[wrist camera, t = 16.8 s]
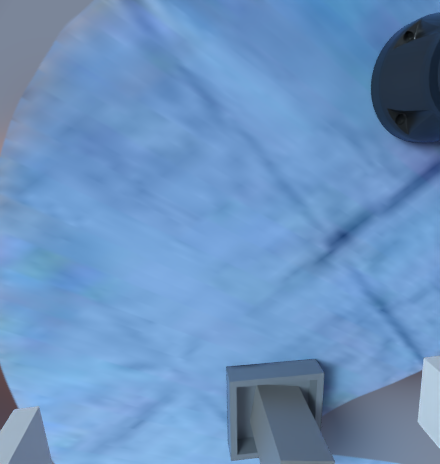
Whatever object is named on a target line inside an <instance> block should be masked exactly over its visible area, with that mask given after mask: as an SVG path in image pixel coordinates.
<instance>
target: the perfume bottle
mask: <svg viewBox="0 0 440 464" xmlns="http://www.w3.org/2000/svg"><path fill="white" fill-rule="evenodd" d="M250 424H251V428H252V432H253V436H254V440H255V444H256V448H257V452H258V456H259V460H260V464H334V463H335V460H334V458H333V456H332V454H331V452H330V450H329V448H328V446H327V444H326V442H325V440H324V438H323V436H322V434H321V431H320V429H319V427H318V425H317V423H316V421H315V419H314V417H313V415H312V413H311V411H310V409H309V407H308V405H307V403H306V400H305V398H304V396H303V394H302V392H301V390H300V388H299V386H289V385H268V384H266V385H256V390H255V395H254V401H253V406H252V411H251V417H250Z"/></svg>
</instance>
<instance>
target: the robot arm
mask: <svg viewBox="0 0 440 464" xmlns="http://www.w3.org/2000/svg"><path fill="white" fill-rule="evenodd" d="M371 96H372V102H373V106H374V109H375V112H376V114H377V117H378V118H379V120H380V122H381V123H382V125H383V126H384V127H385V128H386V129H387V130H388V131H389V132H390V133H392V134H393V135H394V136H396V137H398V138H400V139H403V140H406V141H410V142H436V141H440V13H434V14H430V15H427V16H424V17H422V18H420V19H418V20H416V21H414V22H412V23H410V24H408V25H406V26H405V27H403V28H402V29H400V30H399V31H398V32H397V33H395V34H394V35H393V36H392V37H391V38H390V40H389V41H388V42H387V43H386V45H385V46H384V48H383V49H382V51H381V53H380V54H379V56H378V59H377V61H376V64H375V67H374V70H373V75H372V81H371ZM418 423H419V424H420V426H421V427H422V428H423V429H424V430H425V432H426V433H427V434H428V435H429V436H430V438H431V439H432V440H433V441H434V442H435V443H436V445H437V446H438V447H439V448H440V356H434V357H426V358H424V362H423V372H422V384H421V394H420V403H419V414H418ZM0 464H52V460H51V456H50V451H49V447H48V443H47V438H46V434H45V430H44V426H43V421H42V417H41V413H40V408H39V406H37V407H29V408H21V409H14V411H13V412H12V414H11V415H10V417H9V419H8V420H7V422H6V423H5V425H4V427H3V428H2V430H1V432H0Z"/></svg>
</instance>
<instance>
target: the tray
mask: <svg viewBox="0 0 440 464" xmlns="http://www.w3.org/2000/svg"><path fill="white" fill-rule="evenodd" d="M226 370H227V418H228V445H229V451H230V458H231V461H235V460H244V459H252V458H259V456H258V452H257V448H256V444H255V440H254V436H253V432H252V428H251V424H250V417H251V411H252V406H253V401H254V395H255V390H256V385H266V384H268V385H289V386H299V388H300V390H301V392H302V394H303V396H304V398H305V400H306V403H307V405H308V407H309V409H310V411H311V413H312V415H313V417H314V419H315V421H316V423H317V425H318V427H319V429H320V431H321V420H322V404H323V387H324V372H323V370H322V369H321V367H320V365H319V364H318V362H317V361H316V359H309V360H298V361H286V362H275V363H264V364H253V365H241V366H230V367H226Z"/></svg>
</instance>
